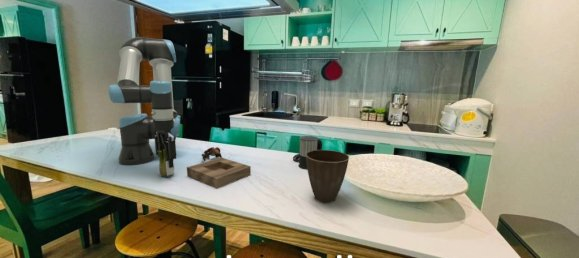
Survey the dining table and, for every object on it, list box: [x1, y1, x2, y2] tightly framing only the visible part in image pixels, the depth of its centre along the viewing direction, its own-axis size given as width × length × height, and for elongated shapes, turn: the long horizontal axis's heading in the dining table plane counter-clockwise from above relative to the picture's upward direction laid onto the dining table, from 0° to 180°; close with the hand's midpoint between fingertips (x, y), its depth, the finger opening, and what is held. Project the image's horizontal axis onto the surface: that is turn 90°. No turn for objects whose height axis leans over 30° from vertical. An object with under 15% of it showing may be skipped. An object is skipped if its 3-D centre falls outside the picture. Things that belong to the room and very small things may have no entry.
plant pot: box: [306, 149, 350, 204], centre depth 82 cm, size 15×15×16 cm
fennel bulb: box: [158, 149, 175, 177], centre depth 98 cm, size 6×5×12 cm
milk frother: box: [292, 135, 323, 170], centre depth 118 cm, size 14×16×15 cm
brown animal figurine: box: [201, 146, 223, 162], centre depth 120 cm, size 12×10×8 cm
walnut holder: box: [186, 156, 252, 189], centre depth 101 cm, size 20×18×4 cm
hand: (167, 172), depth 99 cm, fingers closed on fennel bulb, 5 cm apart
